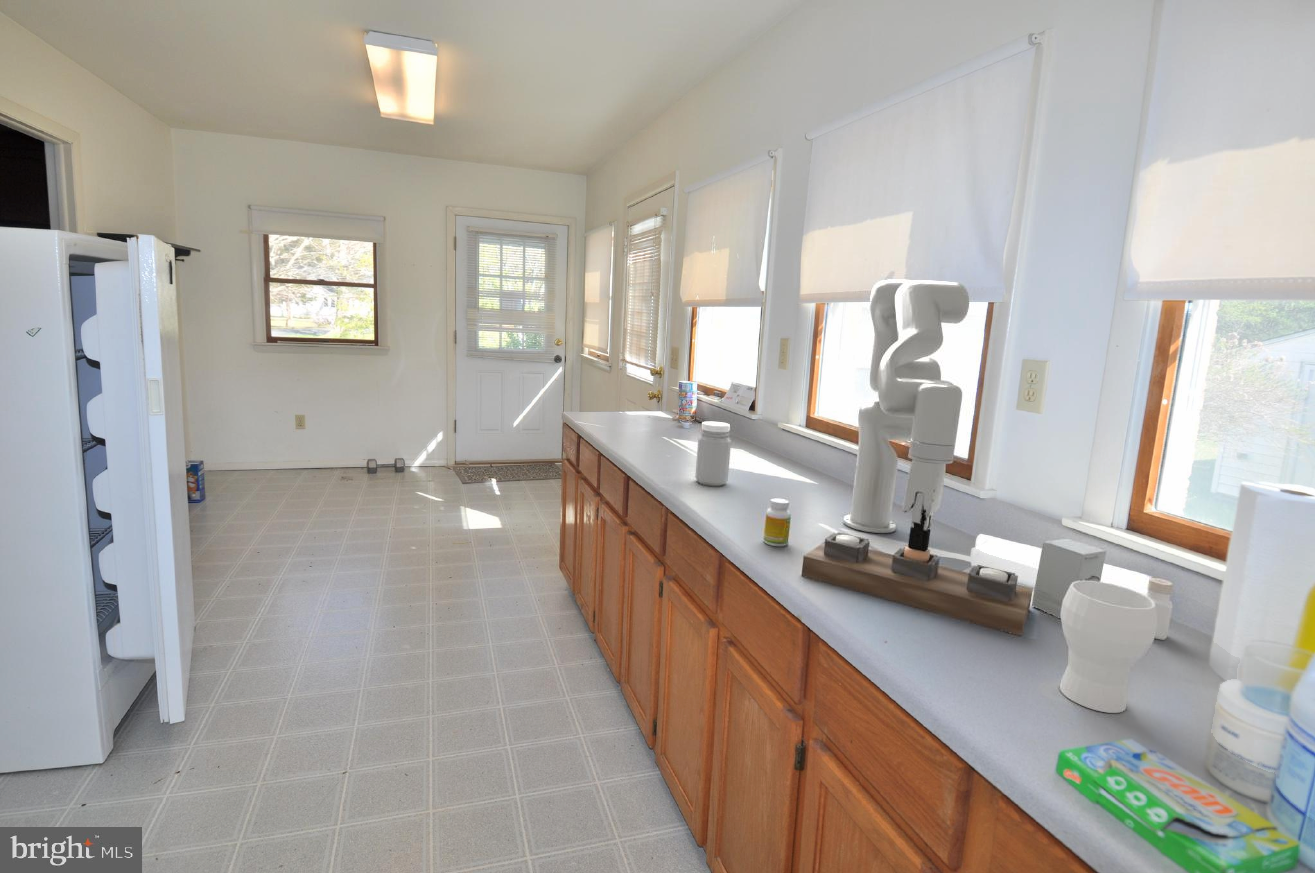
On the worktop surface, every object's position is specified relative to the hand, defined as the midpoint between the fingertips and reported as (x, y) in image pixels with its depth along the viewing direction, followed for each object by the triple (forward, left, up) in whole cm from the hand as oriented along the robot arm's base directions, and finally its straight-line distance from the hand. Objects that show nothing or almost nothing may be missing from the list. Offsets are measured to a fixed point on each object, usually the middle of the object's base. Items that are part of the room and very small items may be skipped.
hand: (917, 548), depth 124 cm
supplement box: (-10, +24, -9) cm, 27 cm away
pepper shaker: (-10, +37, -9) cm, 39 cm away
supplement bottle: (-8, -31, -9) cm, 33 cm away
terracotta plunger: (0, 0, -3) cm, 3 cm away
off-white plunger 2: (0, +13, -4) cm, 14 cm away
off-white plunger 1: (0, -13, -4) cm, 14 cm away
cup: (+22, +29, -9) cm, 37 cm away
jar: (-47, -69, -9) cm, 84 cm away
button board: (0, 0, -9) cm, 9 cm away
